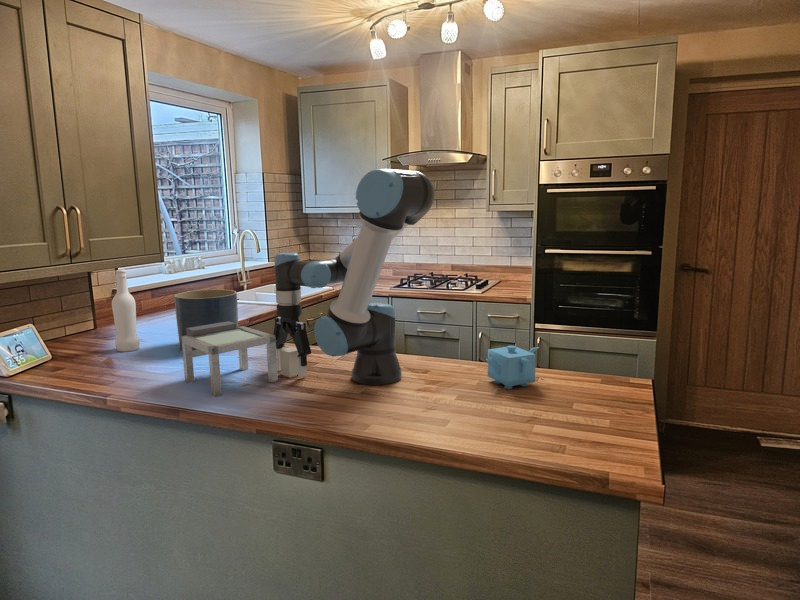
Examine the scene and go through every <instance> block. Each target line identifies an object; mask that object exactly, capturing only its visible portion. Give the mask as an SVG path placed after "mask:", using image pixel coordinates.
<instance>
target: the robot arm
mask: <svg viewBox="0 0 800 600" xmlns="http://www.w3.org/2000/svg"><path fill="white" fill-rule="evenodd" d="M435 196H436V195H435V188H434V185H433V182H432V181H431V179H430V178H429V177H428V176H427V175H425V174H424V173H422V172H420V171H418V170H407V169H393V168H389V167H386V168H377V169H373V170H370V171H369V172H367V173H366V174H365V175H363V176H362V178H361V179H360V181H359V183H358V185H357V188H356V191H355V199H356V200H357V202H356V206H357V208H358V210H359V213H358V217H359V218H360V220H361V222H362V223H361V227H360V230H359V233H358V235H357V236H356V238H355V239H353V240H352V241H351V242H350V244H348V245H347V246H346V247H345V248H344V250H343V251H341V252H340V253H339V254H338V255H337V256H336V257H334V258H328V259H319V260H310V261H309V260H301V259H300V254H299V253H296V252H280V253H279V252H278V253H276V254H275V255H274V267H273V268H274V279H275V280H274V281H275V283H274V284H275V301H276V303H277V304H276V316H277V317H274V327H273V328H274V330H273V333H272V335H275V336H276V354H277V370H281V363H280V349H285V348H286V345H285V344H286V340H287V338H288V336H290V337H291V338H292V340H293V343H294V345H295V346H294V347H296V348H297V351H298V353H299V355H298V356H297V359H298V376H297V377H298V378H303V377H306V376H308V369H307V368H308V360H307V359H308V357H307V356H308V355H312V349H311V346H310V342H309V341H310V340H309V337H308V333H307V325H306V322H305V321H304V322H303V321H302V322H300V319H299V318H300V317H301V316H302V315H303V314H302V313H303V309H302V304H301V302H302V287H305V288H311V289H322V288H325V287H326V286H327V285H331V284H338V283H342V285H341V289H340V291H339V294H338V298H337V299H335V300H333V301H332V302H330V304H329V308H328V310H327V313H326V315H322V316H320V317H319V318H317V320H316V321H315V323H314V328H313V330H314V331H313V332H314V338H315V341H316V344H317V345H318V347H319V348H320V350H321V351H322V352H323V353H324V354H326V355H327V356H329V357H333V358H334V357H336V358H337V357H340V356H346V355H349V354H351V353H354V352H356V357H355V361H354V364H353V368H352V369H351V380H352V381H353V382H354V383H357V384H362V385H369V386H381V385H388V384H392V383H397V382H398V381H400V380H401V379H402V368H401V366H400V362H399V359H398V357H397V354H396V318H397V317H396V315H395V313H396V312H395V307H394V306H393V305H391V304H389V303H382V302H371V300H372V298H373V294H374V292H375V288H376V286H377V283H378V281H379V277H380V275H381V272H382V270H383V266H384V264H385V260H386V258H387V255H388V252H389V248H390V246H391V243H392V240H393V239H395V238H396V237H397V236H398V235H399V234H400V233H401V232H402V231H404V230H405V229H406V228H407V227H408V226H414V225H416V224H417V223H418V222H419V221H420V220H422V218H424V217H425V216H426V215H427V214H428V212H430V210H431V208H432V207H433V204H434V201H435Z"/></svg>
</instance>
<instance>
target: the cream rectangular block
mask: <svg viewBox="0 0 800 600" xmlns="http://www.w3.org/2000/svg"><path fill="white" fill-rule="evenodd" d="M284 348H285V349H280V363H281V369H280V375H282V376H284V377H287V378H294V377H298V376H297V375H298V359H297V356H298V355H299V353H298V351H297V348H296V346H290V347H284Z"/></svg>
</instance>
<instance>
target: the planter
mask: <svg viewBox="0 0 800 600" xmlns="http://www.w3.org/2000/svg"><path fill="white" fill-rule="evenodd" d="M173 298H174V306H175V307H174V309H175V317H176V318H175V319H176V326H177V328H176V329H177V335H178V344H179V349H180V350H181V351H182V352H183V349H182V337H181V336H187V333H186V328H190V327H196V326H203V325H209V324H215V323H221V322H228V321H229V322H233V323H236V329H237V327H239V310H238V293H237V291H236V290H233V289H215V288H214V289H199V290H189V291H183V292H180V293H177V294H175V295H174V297H173ZM192 349H196V348H193V347H192Z"/></svg>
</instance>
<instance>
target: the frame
mask: <svg viewBox="0 0 800 600" xmlns="http://www.w3.org/2000/svg"><path fill="white" fill-rule="evenodd" d="M237 329H240V330H241V331H245V332H248V333H251V334H254V335H258V336H261V337H257V338H252V339H247V340H241V341H236V342H231V343H225V344H220V345H212V344H210V343H207V342H205V341H202V340H199V339H197V338H194V337H191V336H189V335H187V336H181V337H182V349H183V351H182V360H183V372H184V382H185V383H187V384H189V383H194V382H195V373H194V362H193V360H194V359H193V358H196V357H201V356H206V355H208V363H209V377H210V390H211V391H210V392H211V396H212V397H214V398H217V397H221V396H222V382H221V381H222V380H221V367H220V366H221V365H220V354H224V353H230V352H235V351H238V362H239V365H238V366H239V370H240V371H241V370H242V371H245V370H249V358H248V349H249V348H254V347H259V346H264V345H266V359H267V376H268V382H270V383H276V382H278V380H279V376H278V365H277V349H276V341H277V340H276V336H275V335H273V334H270V333H268V332H264V331H261V330H258V329H254V328H251V327H248V326H244V325H241V326H240V325H239V326H238V327H237ZM192 347H193V348H196V349H192Z"/></svg>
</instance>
